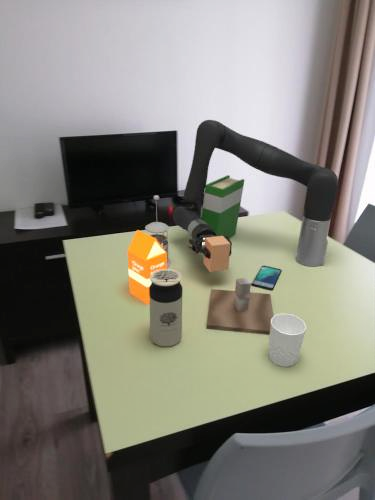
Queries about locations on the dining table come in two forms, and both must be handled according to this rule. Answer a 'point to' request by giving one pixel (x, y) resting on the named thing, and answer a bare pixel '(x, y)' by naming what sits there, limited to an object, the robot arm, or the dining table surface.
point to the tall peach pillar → (217, 253)
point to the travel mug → (165, 307)
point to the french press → (159, 228)
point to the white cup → (285, 339)
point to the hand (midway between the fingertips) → (219, 254)
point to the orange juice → (144, 263)
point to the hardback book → (222, 205)
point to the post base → (240, 319)
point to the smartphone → (266, 278)
